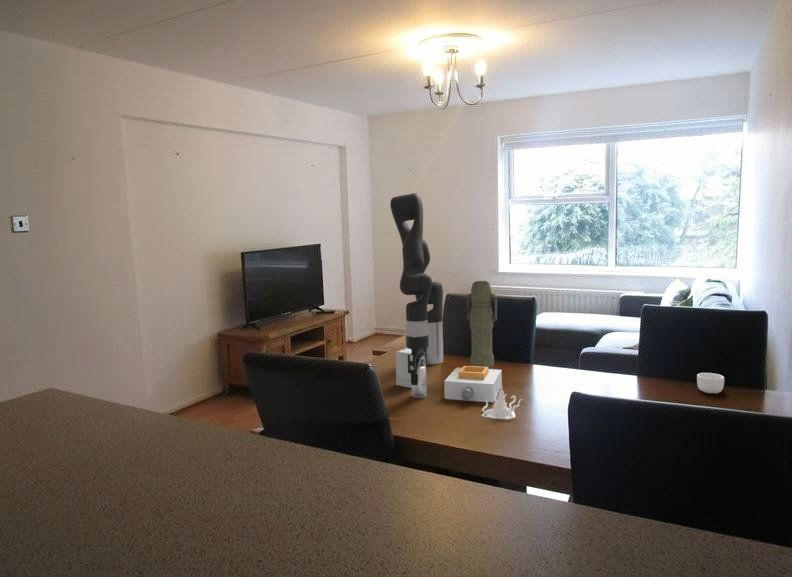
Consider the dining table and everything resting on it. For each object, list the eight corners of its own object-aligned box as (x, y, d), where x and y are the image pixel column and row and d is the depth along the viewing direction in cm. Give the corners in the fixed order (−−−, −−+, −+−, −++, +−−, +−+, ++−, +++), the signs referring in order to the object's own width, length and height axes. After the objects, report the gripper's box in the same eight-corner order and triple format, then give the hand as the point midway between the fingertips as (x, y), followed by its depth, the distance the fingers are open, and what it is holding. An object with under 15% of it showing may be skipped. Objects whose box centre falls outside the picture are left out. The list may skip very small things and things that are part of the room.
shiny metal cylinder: (414, 393, 188) (413, 364, 187) (428, 394, 186) (427, 365, 185) (409, 397, 183) (408, 368, 182) (424, 398, 182) (423, 369, 181)
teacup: (726, 396, 175) (726, 380, 174) (698, 394, 177) (699, 378, 177) (719, 387, 184) (720, 371, 183) (693, 386, 187) (694, 370, 186)
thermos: (467, 368, 219) (466, 280, 215) (498, 369, 216) (497, 280, 212) (465, 374, 210) (463, 282, 206) (497, 375, 207) (496, 282, 203)
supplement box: (412, 389, 193) (411, 353, 192) (395, 385, 198) (394, 351, 196) (424, 384, 199) (423, 349, 197) (408, 381, 203) (407, 347, 202)
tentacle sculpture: (481, 409, 170) (481, 380, 169) (521, 410, 168) (521, 380, 167) (481, 419, 161) (481, 388, 160) (523, 420, 159) (523, 389, 158)
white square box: (456, 383, 198) (456, 361, 197) (501, 386, 193) (501, 364, 192) (441, 402, 177) (441, 378, 176) (491, 406, 172) (491, 381, 171)
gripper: (412, 329, 190) (413, 375, 192) (399, 337, 177) (400, 386, 179) (433, 330, 188) (434, 376, 190) (421, 338, 175) (423, 388, 176)
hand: (418, 381), depth 184 cm, fingers open, 8 cm apart
